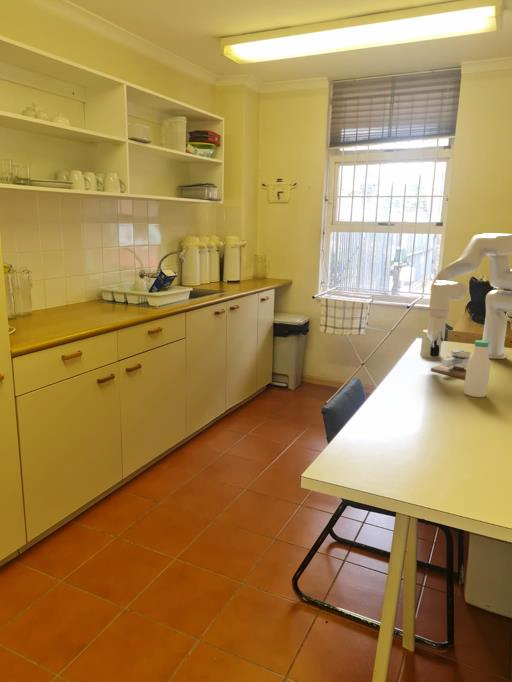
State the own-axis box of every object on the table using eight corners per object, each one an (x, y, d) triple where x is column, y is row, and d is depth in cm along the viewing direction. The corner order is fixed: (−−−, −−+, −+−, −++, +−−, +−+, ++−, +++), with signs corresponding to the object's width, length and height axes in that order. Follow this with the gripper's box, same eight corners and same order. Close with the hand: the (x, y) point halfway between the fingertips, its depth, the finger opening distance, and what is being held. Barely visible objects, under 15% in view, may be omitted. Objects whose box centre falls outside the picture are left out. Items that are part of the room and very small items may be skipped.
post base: (450, 364, 225) (452, 349, 223) (485, 373, 213) (488, 357, 212) (430, 370, 215) (432, 354, 213) (466, 379, 203) (468, 363, 201)
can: (443, 357, 237) (446, 332, 234) (423, 357, 237) (426, 332, 234) (436, 352, 246) (439, 328, 243) (417, 352, 246) (420, 328, 243)
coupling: (436, 366, 210) (438, 352, 208) (456, 361, 218) (457, 348, 217) (452, 370, 204) (454, 356, 203) (472, 365, 213) (473, 351, 211)
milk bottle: (488, 398, 181) (496, 344, 176) (465, 396, 182) (472, 342, 178) (483, 392, 188) (490, 339, 184) (461, 390, 190) (468, 338, 185)
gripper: (424, 309, 216) (420, 351, 220) (433, 316, 201) (429, 360, 205) (442, 310, 215) (438, 351, 219) (453, 316, 200) (448, 361, 205)
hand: (434, 356), depth 212 cm, fingers closed
